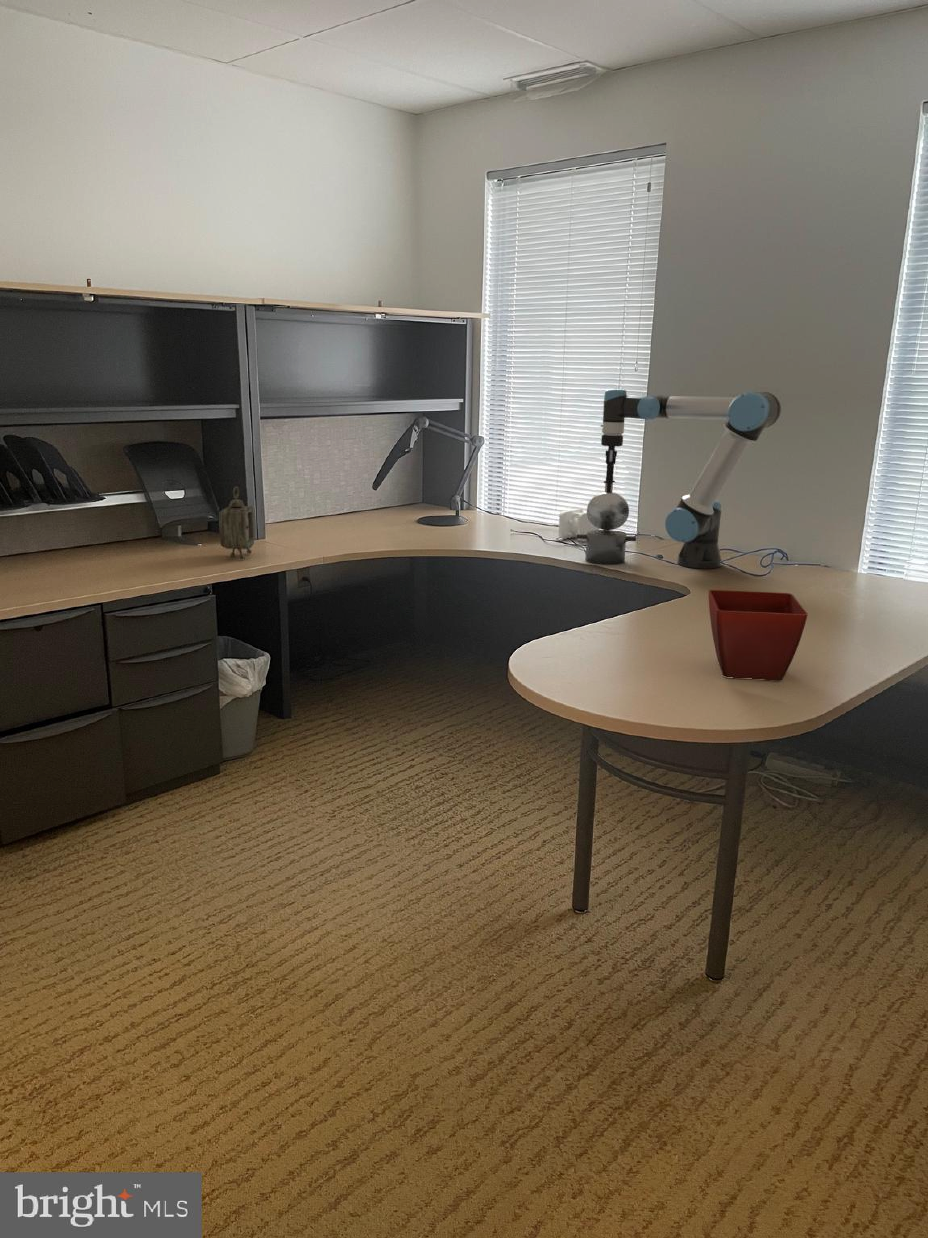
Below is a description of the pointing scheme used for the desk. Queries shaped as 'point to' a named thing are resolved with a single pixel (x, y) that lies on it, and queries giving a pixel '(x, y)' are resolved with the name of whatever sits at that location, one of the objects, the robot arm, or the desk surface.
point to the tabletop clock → (237, 526)
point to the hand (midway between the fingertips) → (607, 501)
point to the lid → (607, 511)
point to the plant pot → (755, 632)
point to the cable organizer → (574, 524)
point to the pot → (605, 546)
